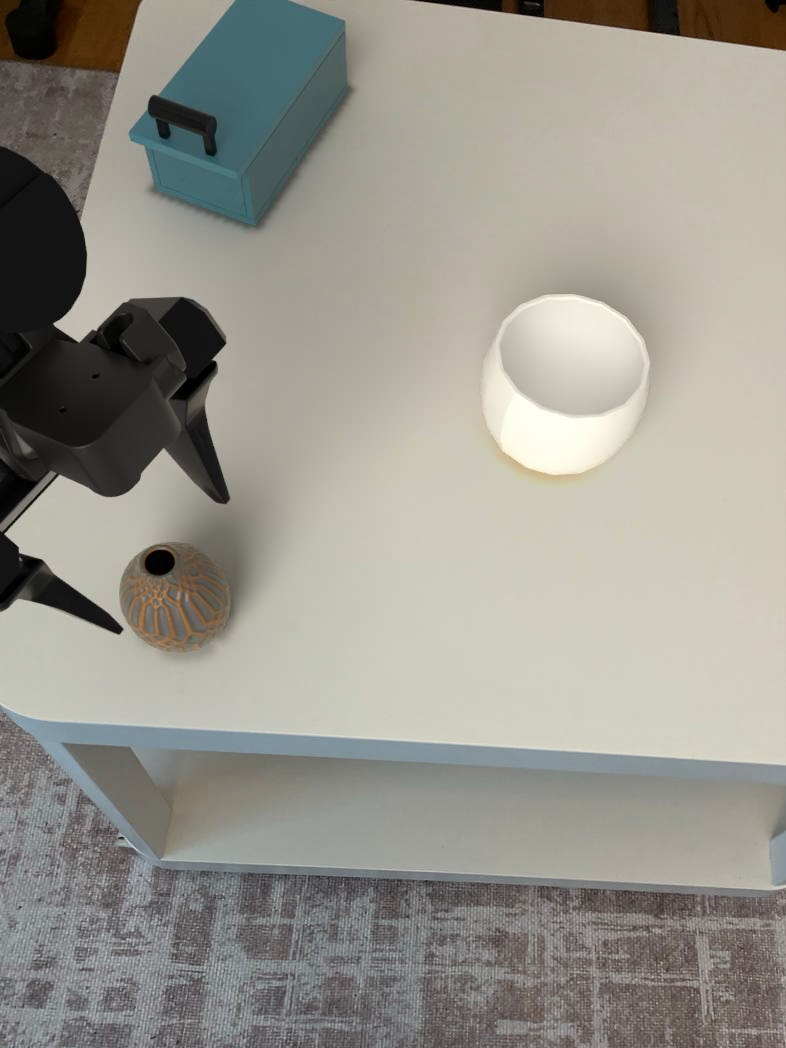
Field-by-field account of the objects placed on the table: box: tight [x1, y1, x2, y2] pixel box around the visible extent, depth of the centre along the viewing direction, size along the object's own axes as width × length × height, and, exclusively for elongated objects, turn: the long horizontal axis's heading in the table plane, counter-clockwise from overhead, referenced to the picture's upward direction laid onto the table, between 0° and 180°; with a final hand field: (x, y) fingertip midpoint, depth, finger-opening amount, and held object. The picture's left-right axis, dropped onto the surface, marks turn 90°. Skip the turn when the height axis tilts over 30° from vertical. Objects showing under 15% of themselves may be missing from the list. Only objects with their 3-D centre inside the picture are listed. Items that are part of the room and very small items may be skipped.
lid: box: [128, 0, 346, 181], centre depth 75 cm, size 21×9×4 cm, turn 159°
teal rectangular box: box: [144, 30, 348, 227], centre depth 79 cm, size 19×9×6 cm, turn 159°
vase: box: [118, 541, 232, 654], centre depth 59 cm, size 7×7×9 cm
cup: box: [478, 293, 652, 476], centre depth 68 cm, size 12×12×10 cm
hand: (172, 564), depth 48 cm, fingers open, 9 cm apart
